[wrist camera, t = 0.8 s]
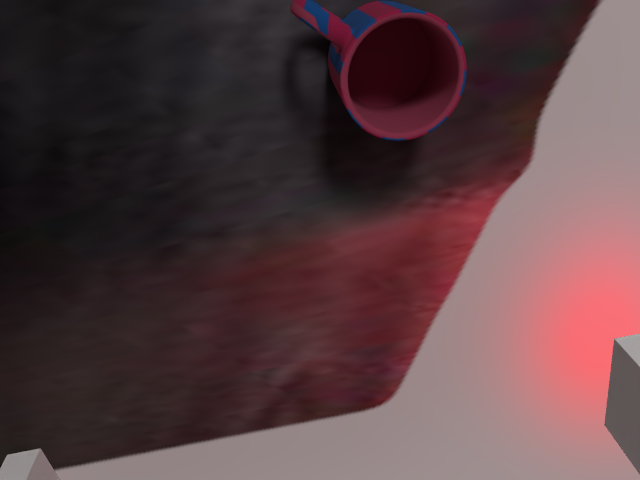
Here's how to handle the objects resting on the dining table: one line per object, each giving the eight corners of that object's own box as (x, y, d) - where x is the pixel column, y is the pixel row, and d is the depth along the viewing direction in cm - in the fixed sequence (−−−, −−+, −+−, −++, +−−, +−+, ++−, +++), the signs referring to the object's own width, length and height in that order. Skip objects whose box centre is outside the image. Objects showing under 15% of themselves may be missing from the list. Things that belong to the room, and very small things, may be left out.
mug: (383, 130, 36) (405, 164, 30) (264, 31, 33) (262, 46, 27) (453, 49, 34) (492, 68, 28) (334, -66, 31) (350, -73, 25)
